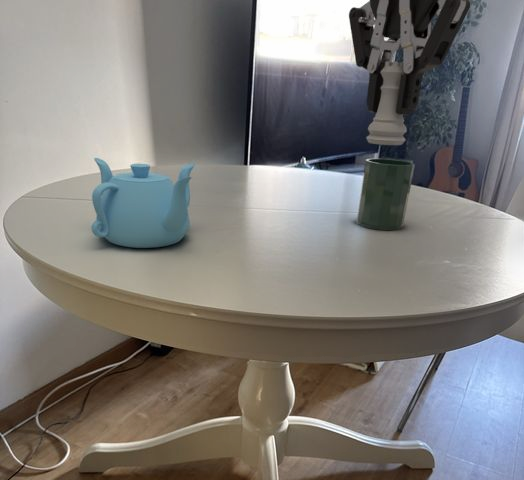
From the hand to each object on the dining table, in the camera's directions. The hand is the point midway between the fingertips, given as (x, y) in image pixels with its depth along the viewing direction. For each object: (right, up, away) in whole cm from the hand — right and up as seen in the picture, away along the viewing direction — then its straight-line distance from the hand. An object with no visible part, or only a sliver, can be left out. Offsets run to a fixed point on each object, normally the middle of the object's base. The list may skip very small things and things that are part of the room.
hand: (389, 112), depth 53 cm
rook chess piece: (0, -3, +2) cm, 3 cm away
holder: (+7, -4, +32) cm, 33 cm away
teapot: (-31, -10, +17) cm, 37 cm away
